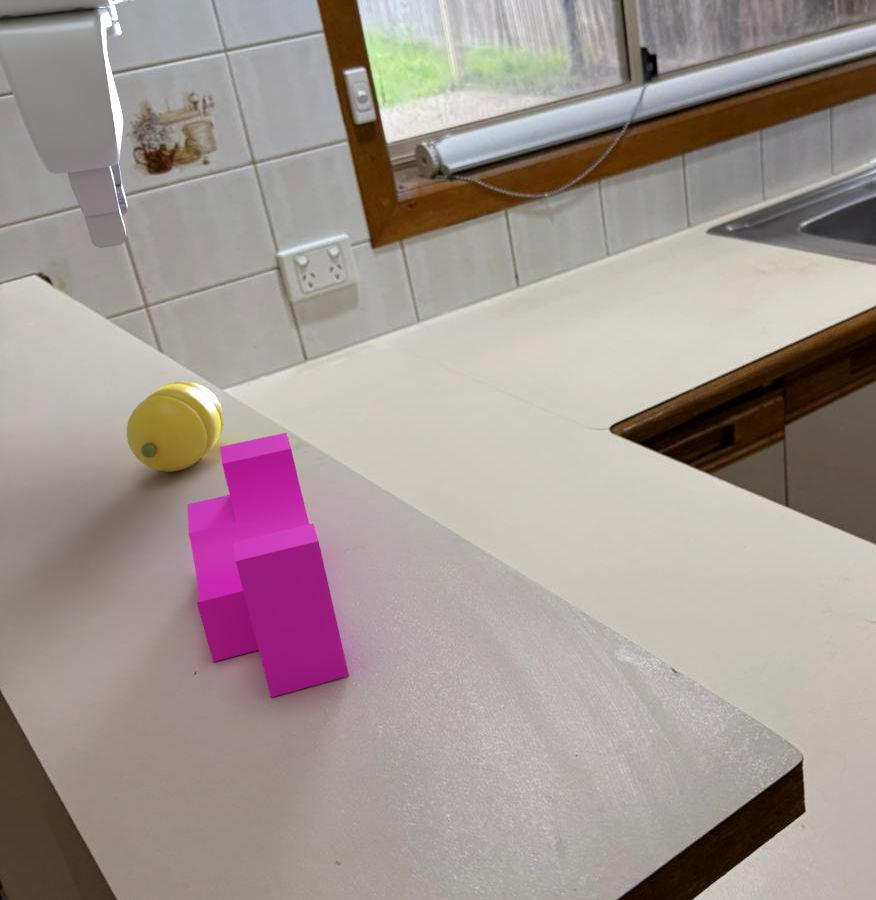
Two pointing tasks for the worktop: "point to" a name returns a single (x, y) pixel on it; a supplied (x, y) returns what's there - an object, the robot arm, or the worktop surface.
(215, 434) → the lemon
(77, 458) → the worktop surface
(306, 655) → the toy block
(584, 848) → the worktop surface
